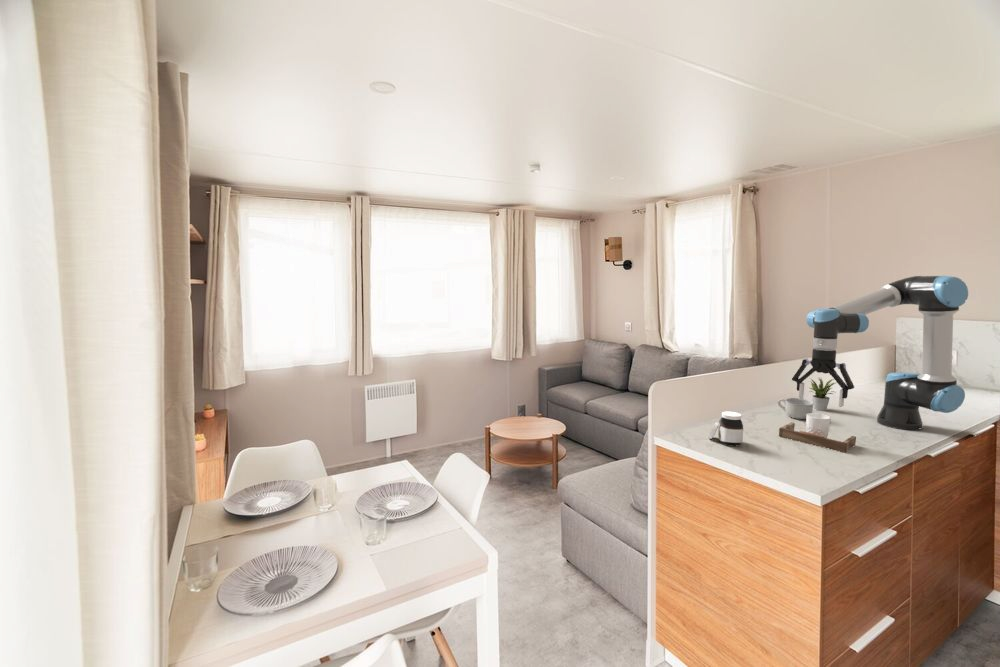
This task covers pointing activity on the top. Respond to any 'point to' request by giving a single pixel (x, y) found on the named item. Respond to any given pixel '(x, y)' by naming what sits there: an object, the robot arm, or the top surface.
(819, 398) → the house plant
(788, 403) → the teacup
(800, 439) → the brown wooden open frame
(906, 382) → the robot arm
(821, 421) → the white cup
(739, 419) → the spread jar
